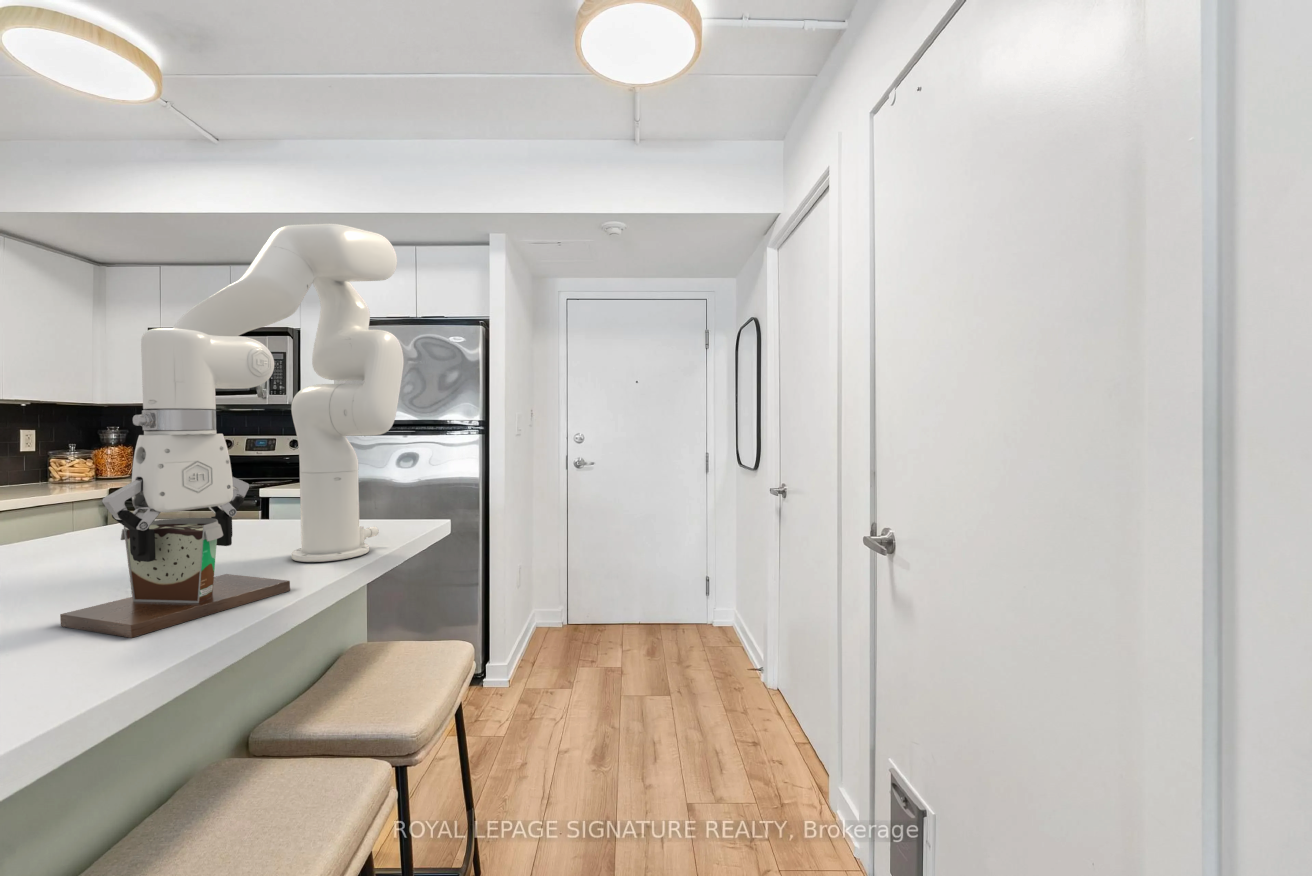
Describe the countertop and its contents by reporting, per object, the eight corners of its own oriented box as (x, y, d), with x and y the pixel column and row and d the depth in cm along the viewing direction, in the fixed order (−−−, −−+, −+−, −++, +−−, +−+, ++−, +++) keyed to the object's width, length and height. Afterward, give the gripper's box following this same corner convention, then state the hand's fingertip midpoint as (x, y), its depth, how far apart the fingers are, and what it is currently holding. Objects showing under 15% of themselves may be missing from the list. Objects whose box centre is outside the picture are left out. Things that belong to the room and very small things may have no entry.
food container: (247, 589, 82) (245, 517, 81) (209, 603, 76) (207, 525, 75) (166, 587, 83) (164, 516, 83) (122, 601, 77) (120, 524, 76)
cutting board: (226, 583, 91) (226, 573, 91) (290, 590, 86) (290, 580, 86) (60, 626, 72) (59, 614, 72) (131, 638, 68) (130, 625, 67)
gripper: (123, 424, 69) (128, 570, 70) (263, 423, 85) (266, 541, 86) (82, 424, 72) (87, 565, 72) (226, 423, 88) (229, 538, 88)
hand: (185, 552), depth 79 cm, fingers open, 9 cm apart
